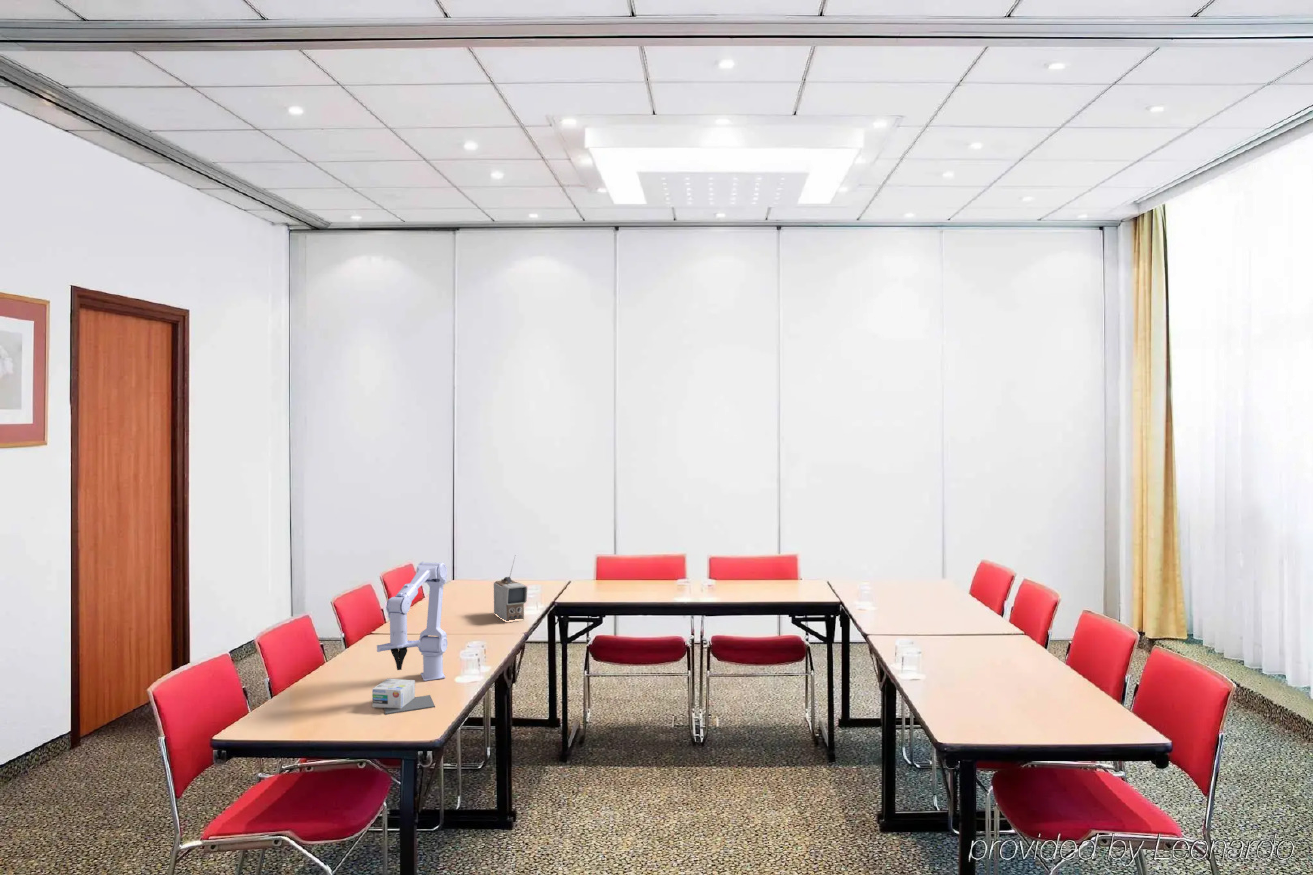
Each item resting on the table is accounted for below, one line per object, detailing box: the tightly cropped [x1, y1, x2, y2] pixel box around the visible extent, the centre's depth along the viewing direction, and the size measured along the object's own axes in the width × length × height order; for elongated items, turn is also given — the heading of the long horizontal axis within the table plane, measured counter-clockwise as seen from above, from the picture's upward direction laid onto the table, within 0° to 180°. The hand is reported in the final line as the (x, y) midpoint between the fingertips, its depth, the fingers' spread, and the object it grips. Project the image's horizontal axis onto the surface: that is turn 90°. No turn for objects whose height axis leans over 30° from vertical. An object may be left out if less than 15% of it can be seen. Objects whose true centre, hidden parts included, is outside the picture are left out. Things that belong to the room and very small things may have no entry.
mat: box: [383, 694, 436, 715], centre depth 266 cm, size 12×16×1 cm
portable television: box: [493, 554, 528, 621], centre depth 387 cm, size 12×24×30 cm, turn 29°
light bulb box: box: [371, 678, 416, 709], centre depth 267 cm, size 11×7×11 cm
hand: (399, 669), depth 273 cm, fingers closed
